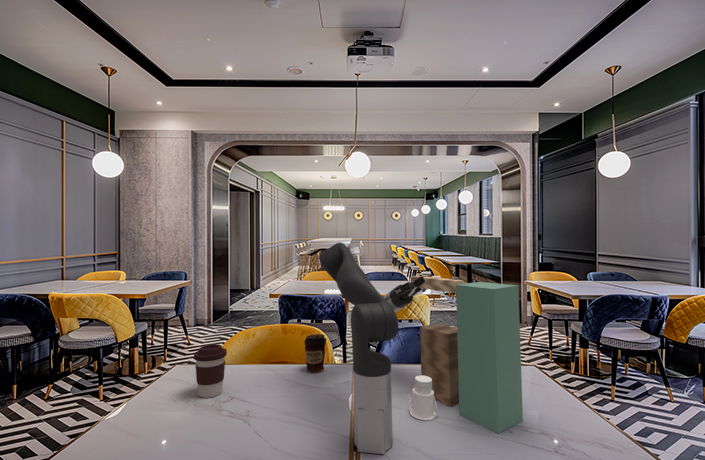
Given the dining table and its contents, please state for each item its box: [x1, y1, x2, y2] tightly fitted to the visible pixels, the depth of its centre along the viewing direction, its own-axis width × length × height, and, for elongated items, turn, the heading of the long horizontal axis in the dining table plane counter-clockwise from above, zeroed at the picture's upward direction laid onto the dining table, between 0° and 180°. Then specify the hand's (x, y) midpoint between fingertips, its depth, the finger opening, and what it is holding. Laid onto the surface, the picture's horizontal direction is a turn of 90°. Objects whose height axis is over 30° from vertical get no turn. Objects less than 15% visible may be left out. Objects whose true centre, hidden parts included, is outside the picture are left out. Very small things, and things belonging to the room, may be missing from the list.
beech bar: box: [410, 275, 464, 294], centre depth 112 cm, size 19×4×4 cm, turn 35°
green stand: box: [455, 281, 524, 434], centre depth 96 cm, size 12×11×36 cm
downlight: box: [408, 374, 438, 421], centre depth 97 cm, size 8×7×10 cm
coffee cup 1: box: [193, 343, 228, 399], centre depth 113 cm, size 10×10×15 cm
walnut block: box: [419, 322, 459, 408], centre depth 109 cm, size 12×8×21 cm
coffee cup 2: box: [304, 333, 327, 374], centre depth 133 cm, size 9×8×13 cm
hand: (427, 278), depth 115 cm, fingers closed on beech bar, 3 cm apart
